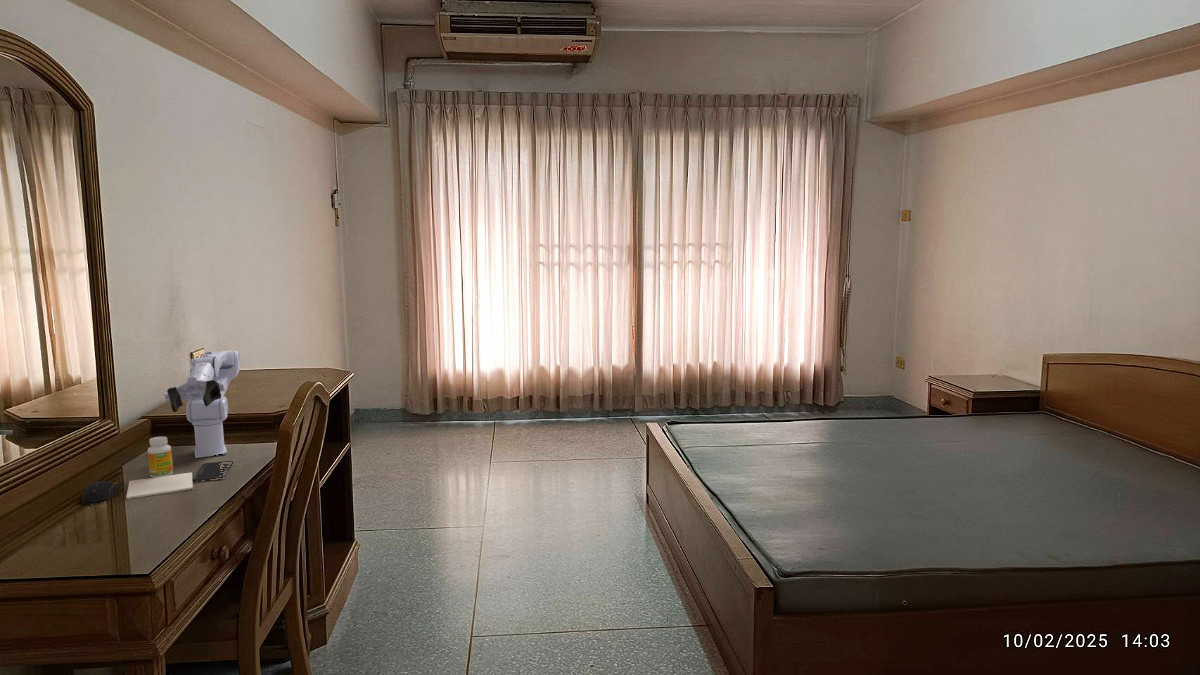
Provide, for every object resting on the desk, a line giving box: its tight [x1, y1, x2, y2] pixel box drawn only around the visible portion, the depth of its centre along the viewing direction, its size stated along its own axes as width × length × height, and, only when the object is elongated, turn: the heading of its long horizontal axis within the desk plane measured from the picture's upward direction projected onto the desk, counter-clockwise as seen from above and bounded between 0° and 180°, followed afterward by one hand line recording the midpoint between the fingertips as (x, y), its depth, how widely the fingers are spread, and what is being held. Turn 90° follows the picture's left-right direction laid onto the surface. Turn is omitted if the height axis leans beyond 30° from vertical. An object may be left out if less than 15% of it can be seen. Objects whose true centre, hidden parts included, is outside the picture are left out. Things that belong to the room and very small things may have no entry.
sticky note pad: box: [125, 471, 194, 500], centre depth 197 cm, size 14×14×1 cm
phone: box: [192, 460, 234, 483], centre depth 208 cm, size 8×1×15 cm
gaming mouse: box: [80, 480, 118, 506], centre depth 189 cm, size 6×15×4 cm, turn 18°
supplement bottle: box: [147, 436, 174, 478], centre depth 206 cm, size 5×5×10 cm
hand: (189, 405), depth 205 cm, fingers open, 7 cm apart
